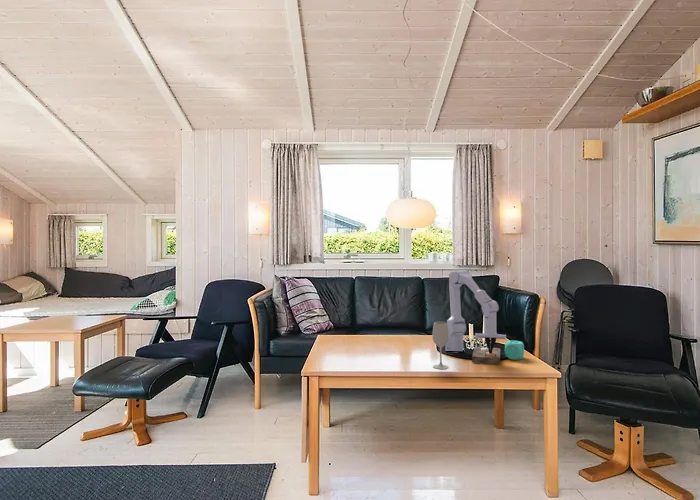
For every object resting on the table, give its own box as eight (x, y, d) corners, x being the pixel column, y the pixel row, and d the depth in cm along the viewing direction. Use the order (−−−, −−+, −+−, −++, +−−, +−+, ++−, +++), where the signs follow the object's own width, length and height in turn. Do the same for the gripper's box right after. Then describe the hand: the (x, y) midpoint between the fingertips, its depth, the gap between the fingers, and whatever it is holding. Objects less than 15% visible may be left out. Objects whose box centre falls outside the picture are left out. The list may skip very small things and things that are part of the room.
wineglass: (443, 364, 217) (442, 320, 216) (452, 368, 210) (451, 323, 209) (429, 366, 214) (429, 322, 214) (438, 370, 207) (437, 324, 206)
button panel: (472, 362, 219) (472, 356, 219) (474, 352, 239) (474, 346, 239) (500, 364, 215) (500, 358, 215) (500, 354, 235) (500, 348, 235)
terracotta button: (485, 359, 220) (485, 353, 220) (486, 357, 224) (486, 351, 224) (495, 359, 219) (495, 354, 219) (495, 357, 223) (495, 352, 223)
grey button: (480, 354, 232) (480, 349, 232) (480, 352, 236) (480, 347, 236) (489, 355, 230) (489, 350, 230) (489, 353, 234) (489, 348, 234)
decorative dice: (524, 357, 228) (524, 341, 228) (521, 360, 222) (521, 344, 222) (507, 355, 233) (507, 339, 232) (504, 358, 226) (504, 342, 226)
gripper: (474, 326, 220) (474, 353, 220) (505, 327, 215) (506, 355, 215) (475, 323, 227) (475, 350, 227) (505, 325, 222) (506, 352, 222)
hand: (490, 353), depth 222 cm, fingers closed, pressing on terracotta button
